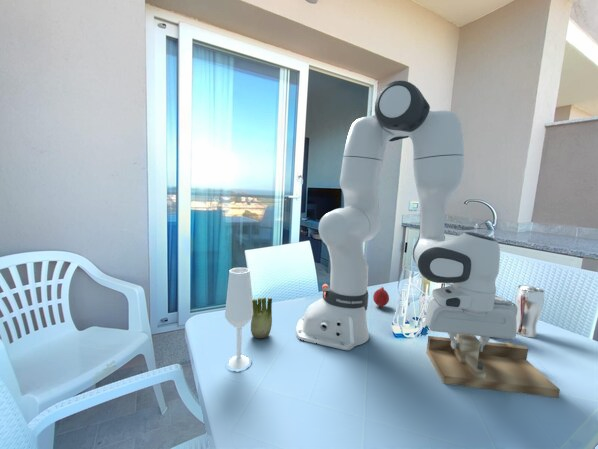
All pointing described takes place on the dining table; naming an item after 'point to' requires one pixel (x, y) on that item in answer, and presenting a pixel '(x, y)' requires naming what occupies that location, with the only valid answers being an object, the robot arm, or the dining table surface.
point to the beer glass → (528, 309)
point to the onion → (381, 297)
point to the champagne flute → (239, 309)
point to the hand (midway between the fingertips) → (466, 349)
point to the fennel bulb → (261, 318)
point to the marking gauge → (470, 354)
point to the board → (491, 368)
